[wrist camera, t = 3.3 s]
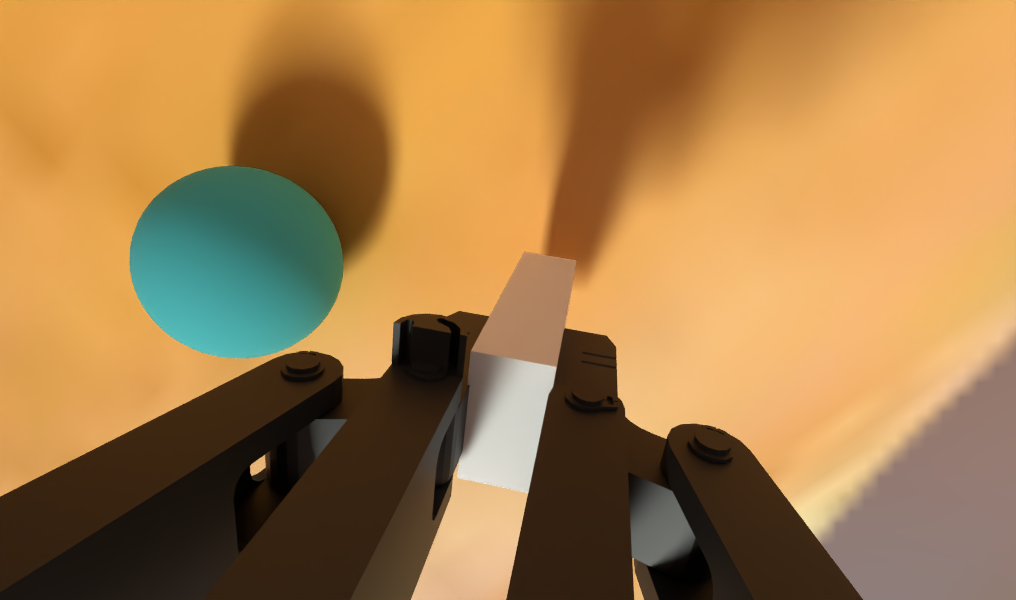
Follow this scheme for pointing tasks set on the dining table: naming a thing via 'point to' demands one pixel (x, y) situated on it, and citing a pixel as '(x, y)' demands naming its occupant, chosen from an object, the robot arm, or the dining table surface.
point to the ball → (236, 262)
